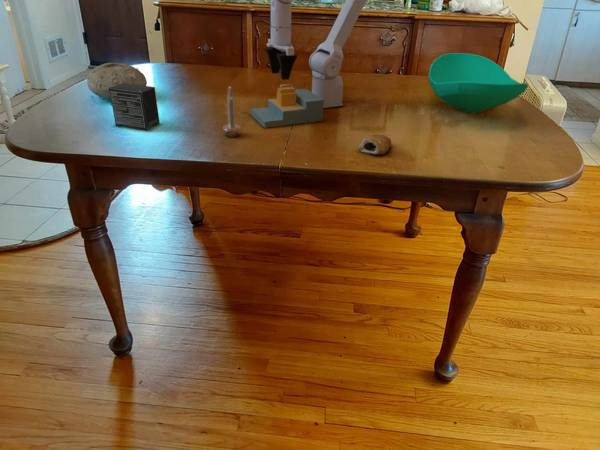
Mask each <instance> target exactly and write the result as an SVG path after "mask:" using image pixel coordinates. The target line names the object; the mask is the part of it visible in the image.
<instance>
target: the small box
mask: <svg viewBox="0 0 600 450" xmlns="http://www.w3.org/2000/svg"><path fill="white" fill-rule="evenodd" d="M109 92H110V97H111V98H110V101H111V107H112V112H113V117H114V118H113V119H114V123H115V126H116V127H119V128H127V129H134V130H139V131H146V132H147V131H149V130H152V129H153V128H155V127H158V126H159V125H160V124H161V123H160V122H161V121H160V115H159V107H158V101H157V94H156V87H155V86H150V85H146V86H142V85H134V84H126V83H122V84H119V85H116V86H113V87H110V88H109Z"/></svg>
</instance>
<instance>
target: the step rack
mask: <svg viewBox="0 0 600 450" xmlns="http://www.w3.org/2000/svg"><path fill="white" fill-rule="evenodd" d="M295 93H296V105H289V106H280V105H279V104H278V103H277V97H276V98H268V99H267V106H264V107H255V108H250V115H251V116H252V118H254V120H256V121H257V122H258V123H259V124H260V126H262V127H263V128H264V129H268V128H276V127H284V126H291V125H299V124H300V125H301V124H307V123H315V122H323V119H324V117H323V116H324V108H323V101H324V100H323V99H321V98H320V97H318V96H317V95H315V94H314V93H312V91H311V90H309V89H308V88H299V89H295Z"/></svg>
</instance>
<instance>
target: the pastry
mask: <svg viewBox="0 0 600 450" xmlns="http://www.w3.org/2000/svg"><path fill="white" fill-rule="evenodd" d="M391 145H392V139H391V138H389V137H388V136H386V135H383V134H369V135H367V136H364V137H363V139H362V140H361V142H360V144H359V145H358V149H359V150H360V153H364V154H372V155H375V156H381V155H384V154H386V153H388V151H389V149H390V147H391Z"/></svg>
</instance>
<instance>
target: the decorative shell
mask: <svg viewBox="0 0 600 450" xmlns="http://www.w3.org/2000/svg"><path fill="white" fill-rule="evenodd" d="M122 83H126V84H134V85H142V86H147V85H148V84H147V83H148V82H147V77H146V76H145V74H144V73H143V72H142V71H140V69H139V68H138V67H137V68H136V67H134V66H133V65H130V64H127V63H124V62H122V63H120V62H113V61H111V62H106V63H103V64H100V65H98V66H95V67H94V68H93V69H91V70H89V73H88V75H87V77H86V85H87V88H88V90H89V91H90V92H91V93H92V94H94V95H96V96H97V97H100V98H103V99H111V97H110V92H109V88H110V87H113V86H116V85H119V84H122Z"/></svg>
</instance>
